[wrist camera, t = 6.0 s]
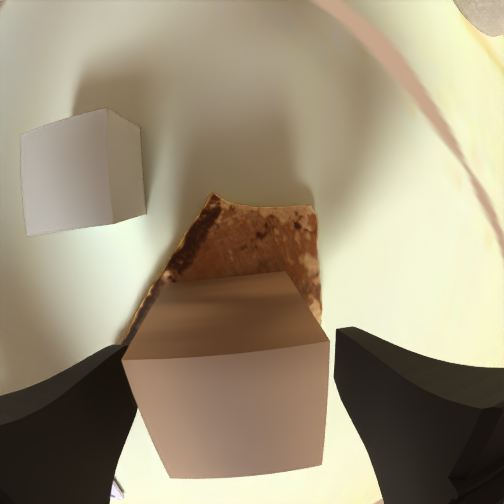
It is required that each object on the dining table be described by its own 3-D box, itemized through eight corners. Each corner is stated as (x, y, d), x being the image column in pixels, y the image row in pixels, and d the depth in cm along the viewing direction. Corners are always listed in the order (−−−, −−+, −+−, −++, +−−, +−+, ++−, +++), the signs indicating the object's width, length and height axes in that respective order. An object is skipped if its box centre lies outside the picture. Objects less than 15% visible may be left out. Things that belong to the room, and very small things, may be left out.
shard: (117, 352, 15) (106, 368, 13) (86, 214, 13) (68, 217, 12) (315, 333, 15) (325, 350, 14) (305, 183, 14) (315, 182, 12)
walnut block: (186, 380, 13) (170, 478, 8) (165, 283, 12) (121, 360, 7) (290, 370, 14) (321, 465, 8) (285, 271, 13) (329, 340, 7)
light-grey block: (74, 223, 13) (26, 236, 9) (68, 144, 12) (20, 134, 8) (147, 213, 13) (113, 223, 9) (140, 128, 12) (106, 107, 8)
